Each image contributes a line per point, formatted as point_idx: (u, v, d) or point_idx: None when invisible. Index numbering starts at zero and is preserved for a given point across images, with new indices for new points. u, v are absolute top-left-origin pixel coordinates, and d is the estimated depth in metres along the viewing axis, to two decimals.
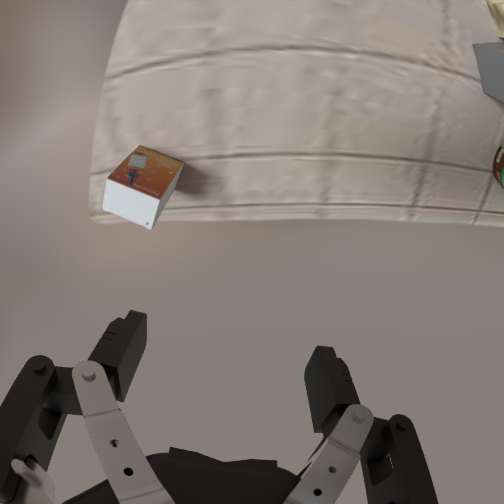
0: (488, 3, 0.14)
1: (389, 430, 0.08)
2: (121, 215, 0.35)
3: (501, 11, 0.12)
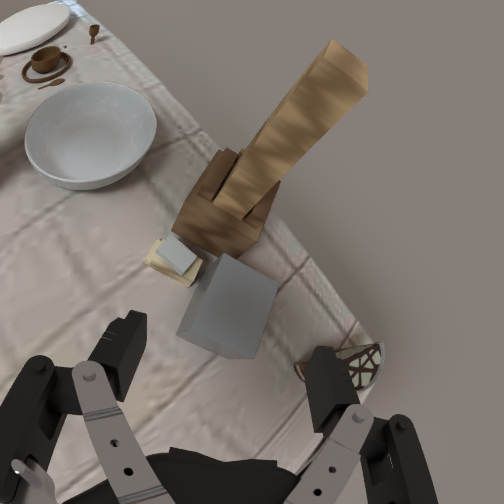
0: (151, 266, 0.36)
1: (389, 430, 0.08)
2: None
3: (159, 265, 0.34)
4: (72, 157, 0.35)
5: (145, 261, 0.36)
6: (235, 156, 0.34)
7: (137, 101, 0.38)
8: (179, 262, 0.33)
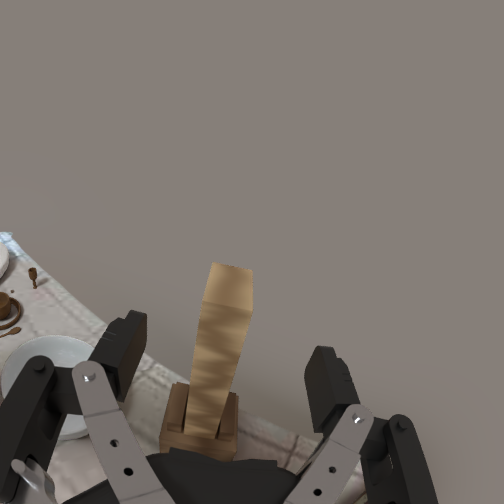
0: None
1: (389, 430, 0.08)
2: None
3: None
4: None
5: None
6: (187, 387, 0.35)
7: (89, 351, 0.41)
8: None
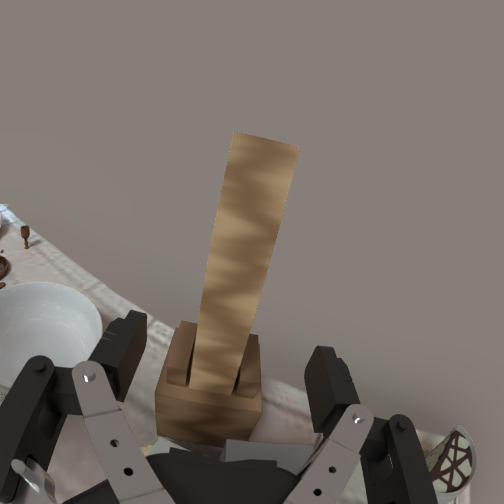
0: None
1: (389, 430, 0.08)
2: None
3: None
4: None
5: None
6: (195, 327, 0.29)
7: (77, 300, 0.35)
8: None
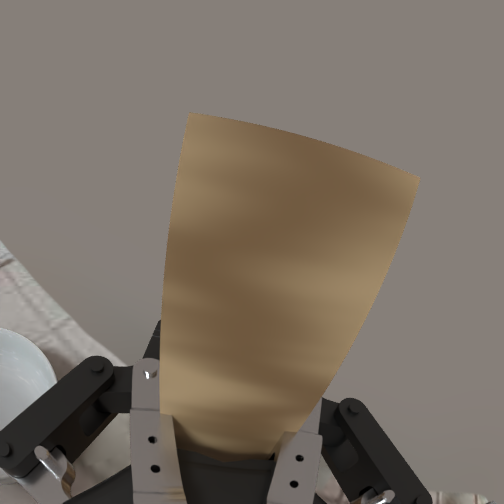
0: None
1: (342, 418, 0.08)
2: None
3: None
4: None
5: None
6: None
7: (33, 354, 0.23)
8: None
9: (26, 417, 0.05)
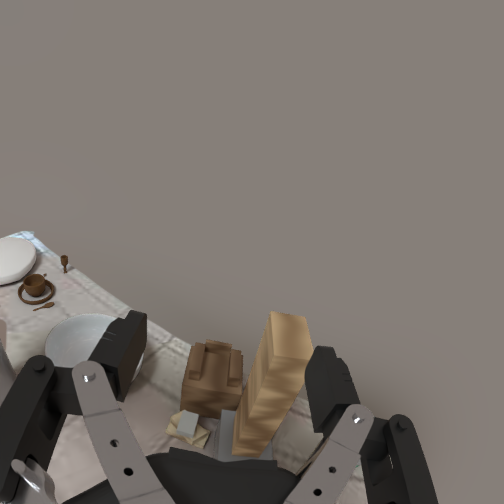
0: (171, 435, 0.39)
1: (389, 430, 0.08)
2: None
3: (174, 422, 0.40)
4: None
5: (166, 431, 0.39)
6: (204, 346, 0.48)
7: None
8: (182, 425, 0.38)
9: None
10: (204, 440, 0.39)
